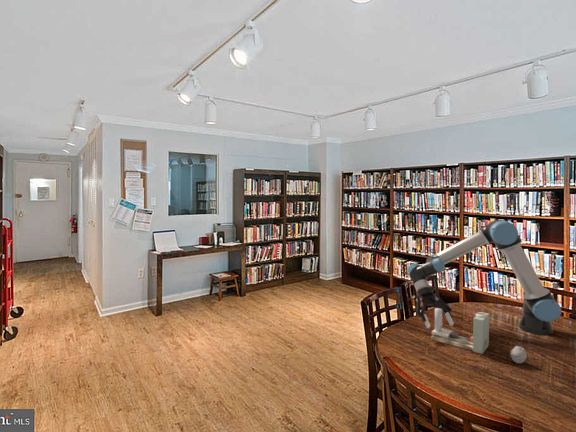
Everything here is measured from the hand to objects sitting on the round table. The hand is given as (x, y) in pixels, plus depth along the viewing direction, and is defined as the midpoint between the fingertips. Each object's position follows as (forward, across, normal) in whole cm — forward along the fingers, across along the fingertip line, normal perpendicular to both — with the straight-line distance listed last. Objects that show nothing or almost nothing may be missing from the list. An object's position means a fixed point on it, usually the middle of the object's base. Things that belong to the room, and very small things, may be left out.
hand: (440, 326), depth 178 cm
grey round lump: (+26, -17, +16) cm, 35 cm away
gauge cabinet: (+15, -12, +5) cm, 20 cm away
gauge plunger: (+12, -10, +5) cm, 17 cm away
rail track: (+8, -5, -2) cm, 9 cm away
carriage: (+4, -2, -2) cm, 5 cm away
